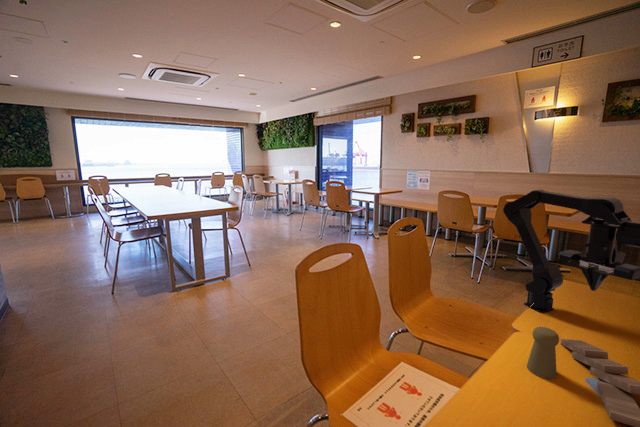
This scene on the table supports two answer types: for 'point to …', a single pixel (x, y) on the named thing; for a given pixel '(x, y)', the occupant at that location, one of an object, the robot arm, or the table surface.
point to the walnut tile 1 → (584, 348)
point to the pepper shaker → (543, 353)
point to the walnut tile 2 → (601, 364)
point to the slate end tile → (593, 384)
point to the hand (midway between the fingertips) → (593, 290)
